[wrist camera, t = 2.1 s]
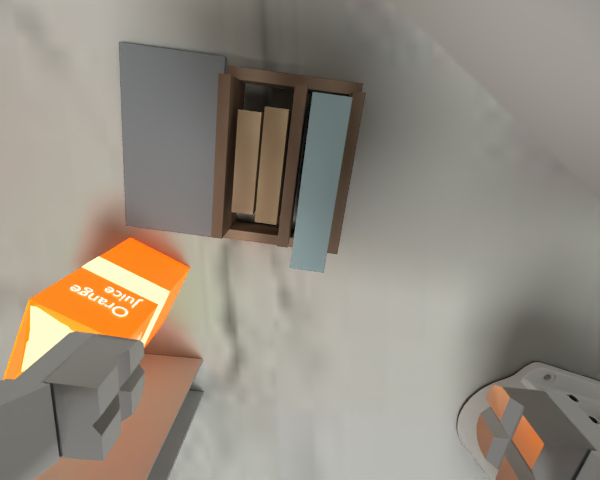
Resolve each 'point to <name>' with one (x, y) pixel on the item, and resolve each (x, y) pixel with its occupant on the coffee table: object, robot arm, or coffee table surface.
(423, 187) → the coffee table surface
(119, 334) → the orange juice
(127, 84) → the mat
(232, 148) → the rack
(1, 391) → the robot arm
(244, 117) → the offcut
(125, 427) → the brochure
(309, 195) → the light blue slab
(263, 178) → the offcut
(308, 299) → the coffee table surface
